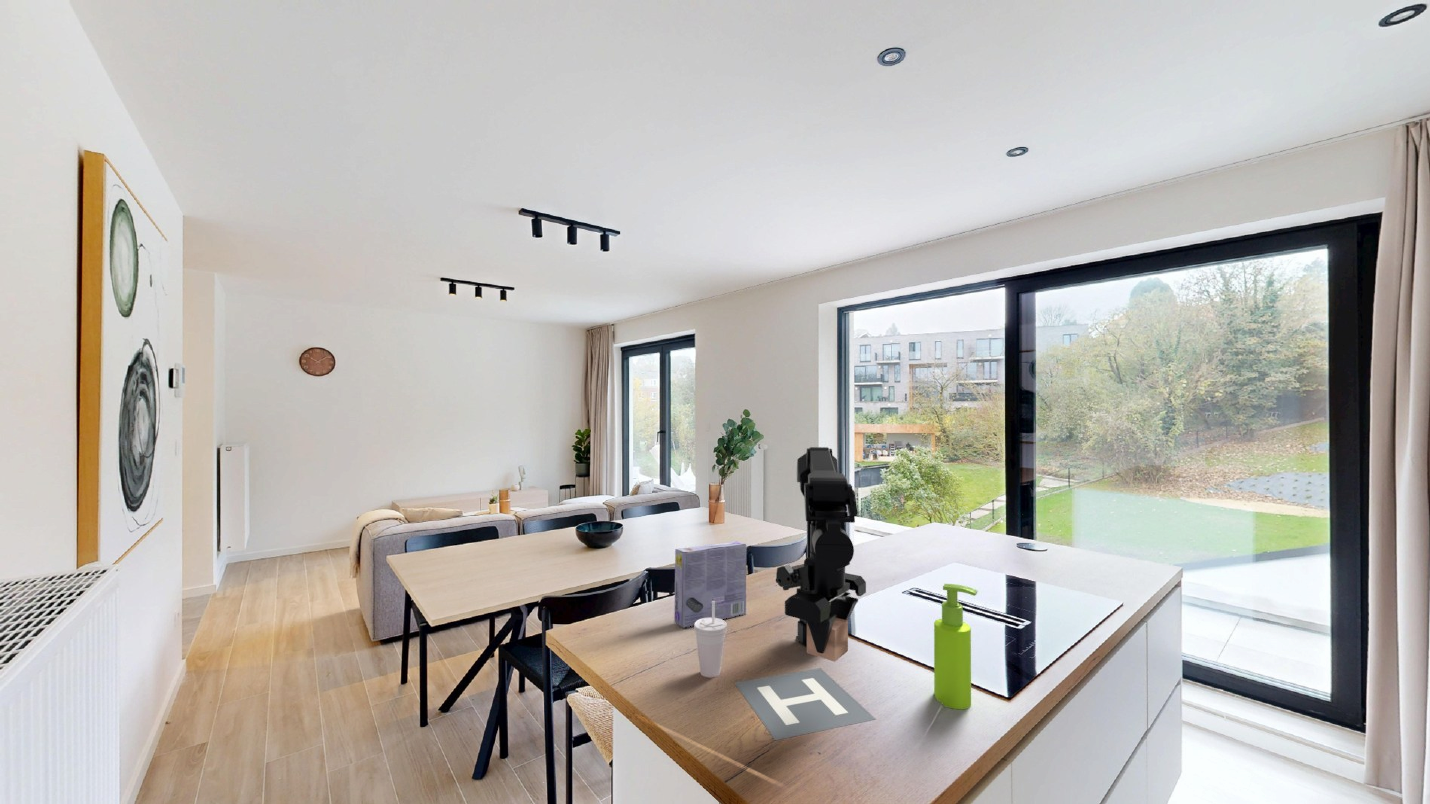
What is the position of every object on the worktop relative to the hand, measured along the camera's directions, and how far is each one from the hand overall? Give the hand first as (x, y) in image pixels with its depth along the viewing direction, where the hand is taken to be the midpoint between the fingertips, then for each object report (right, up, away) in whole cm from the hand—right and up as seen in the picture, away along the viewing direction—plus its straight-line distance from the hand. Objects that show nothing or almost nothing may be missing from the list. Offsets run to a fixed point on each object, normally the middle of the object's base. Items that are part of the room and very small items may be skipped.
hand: (827, 647), depth 88 cm
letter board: (-4, -11, +4) cm, 13 cm away
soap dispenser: (+23, -12, +5) cm, 27 cm away
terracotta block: (0, -1, 0) cm, 1 cm away
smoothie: (-20, -12, +14) cm, 27 cm away
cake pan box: (-19, -12, +41) cm, 47 cm away
